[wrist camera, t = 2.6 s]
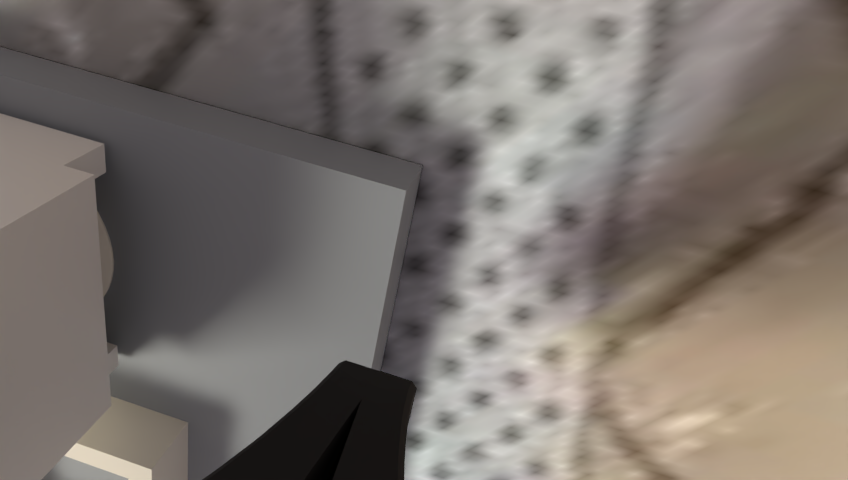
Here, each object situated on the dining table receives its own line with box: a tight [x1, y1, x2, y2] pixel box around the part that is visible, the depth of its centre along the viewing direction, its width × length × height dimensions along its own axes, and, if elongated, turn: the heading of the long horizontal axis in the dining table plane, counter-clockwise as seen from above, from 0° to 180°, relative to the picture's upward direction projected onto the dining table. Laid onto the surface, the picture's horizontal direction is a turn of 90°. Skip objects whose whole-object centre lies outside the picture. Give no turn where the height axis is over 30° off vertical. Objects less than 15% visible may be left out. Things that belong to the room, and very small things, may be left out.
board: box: [0, 47, 423, 480], centre depth 16 cm, size 18×14×3 cm
